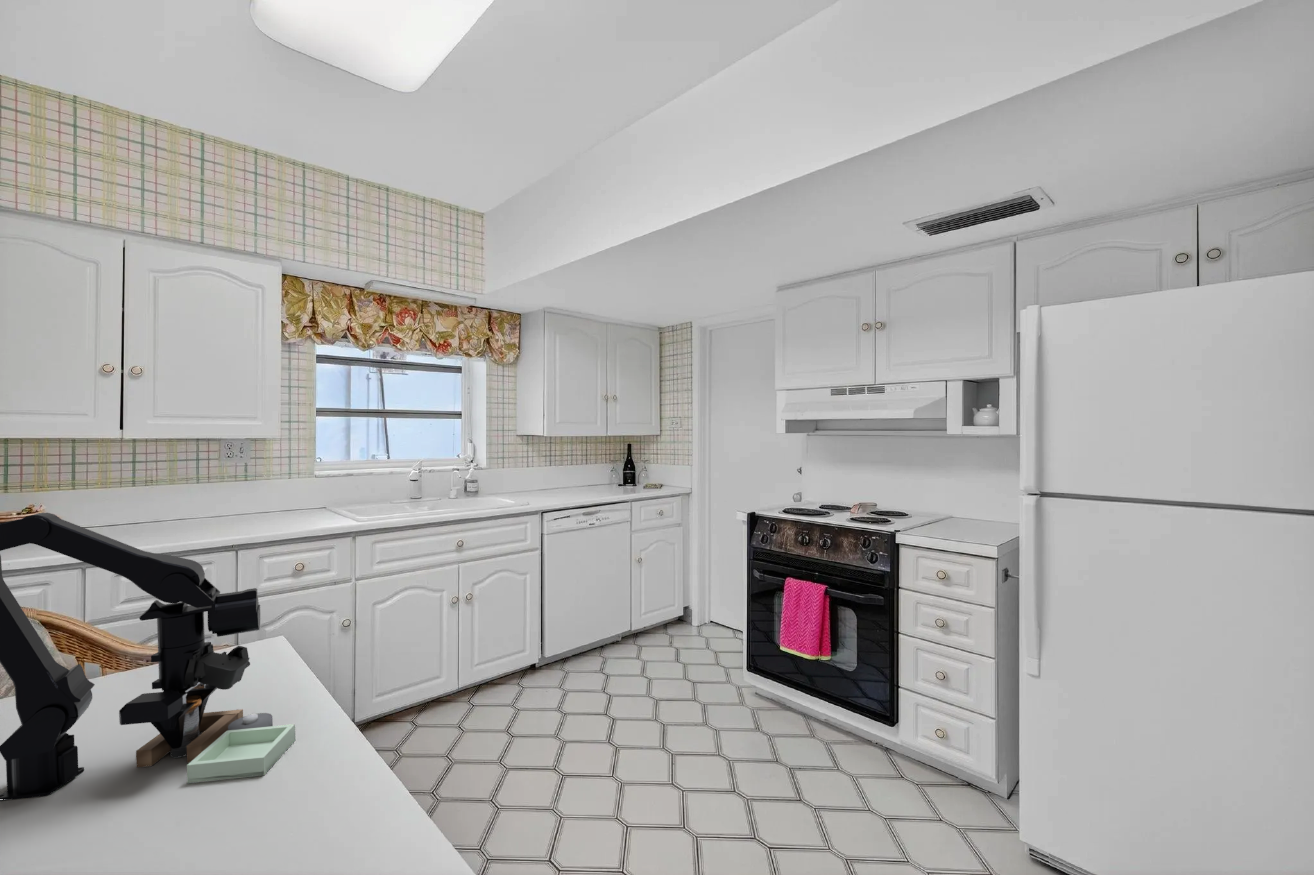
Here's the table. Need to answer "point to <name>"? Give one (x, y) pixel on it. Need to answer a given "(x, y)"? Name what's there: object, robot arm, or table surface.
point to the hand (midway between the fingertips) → (184, 741)
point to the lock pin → (189, 726)
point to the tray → (241, 754)
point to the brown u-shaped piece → (213, 729)
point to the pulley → (252, 721)
